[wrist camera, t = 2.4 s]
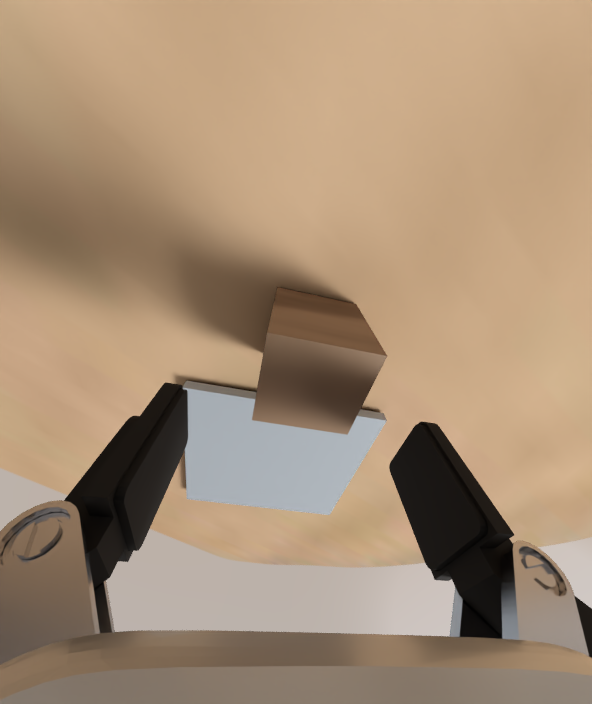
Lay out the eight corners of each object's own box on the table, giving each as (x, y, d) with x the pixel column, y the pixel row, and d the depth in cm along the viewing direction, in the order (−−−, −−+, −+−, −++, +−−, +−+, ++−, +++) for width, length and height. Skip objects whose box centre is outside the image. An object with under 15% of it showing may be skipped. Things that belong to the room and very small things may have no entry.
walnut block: (277, 287, 14) (267, 332, 9) (356, 304, 15) (387, 356, 10) (265, 355, 17) (251, 420, 12) (332, 367, 17) (347, 434, 12)
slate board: (186, 380, 18) (182, 387, 17) (383, 413, 20) (386, 420, 19) (189, 491, 26) (186, 499, 26) (328, 507, 28) (329, 514, 27)
